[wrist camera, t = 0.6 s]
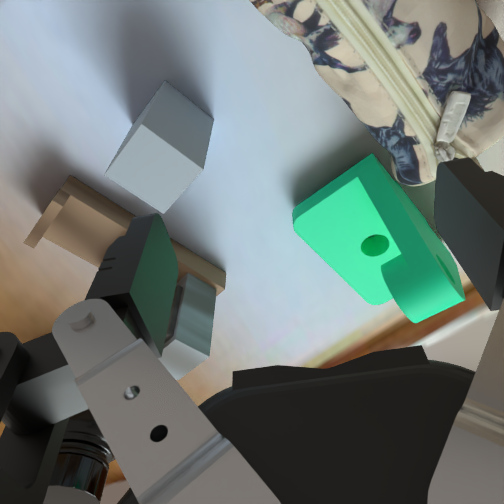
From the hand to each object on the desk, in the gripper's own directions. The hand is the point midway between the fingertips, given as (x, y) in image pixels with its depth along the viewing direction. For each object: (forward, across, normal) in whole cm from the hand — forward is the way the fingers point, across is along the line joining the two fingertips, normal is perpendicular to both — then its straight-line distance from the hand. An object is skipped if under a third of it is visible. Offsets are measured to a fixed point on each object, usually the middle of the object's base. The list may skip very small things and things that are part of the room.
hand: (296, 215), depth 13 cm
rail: (+19, +13, +12) cm, 26 cm away
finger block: (+18, +7, +2) cm, 20 cm away
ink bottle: (+21, +26, +32) cm, 46 cm away
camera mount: (+19, -6, +14) cm, 24 cm away
